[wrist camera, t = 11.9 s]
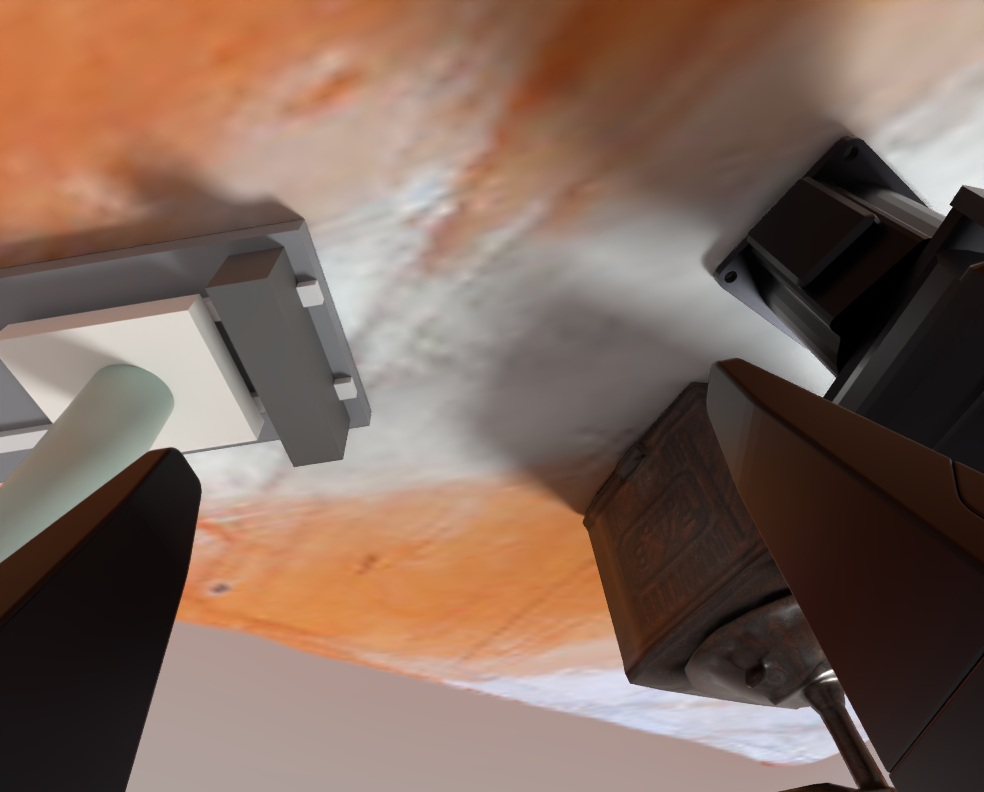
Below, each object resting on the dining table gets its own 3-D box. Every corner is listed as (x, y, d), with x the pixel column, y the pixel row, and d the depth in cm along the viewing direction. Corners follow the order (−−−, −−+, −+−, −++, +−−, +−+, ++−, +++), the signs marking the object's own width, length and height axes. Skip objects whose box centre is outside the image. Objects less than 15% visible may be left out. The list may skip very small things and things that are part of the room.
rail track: (304, 219, 20) (283, 259, 17) (371, 411, 26) (363, 465, 23) (-207, 302, 21) (-307, 355, 18) (-33, 474, 26) (-89, 534, 23)
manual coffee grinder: (682, 369, 26) (990, 877, 11) (851, 437, 29) (1247, 890, 15) (524, 566, 34) (587, 1007, 19) (671, 601, 37) (816, 995, 23)
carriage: (199, 293, 20) (43, 510, 12) (264, 421, 24) (176, 651, 16) (8, 324, 20) (-271, 558, 12) (102, 446, 24) (-66, 687, 16)
